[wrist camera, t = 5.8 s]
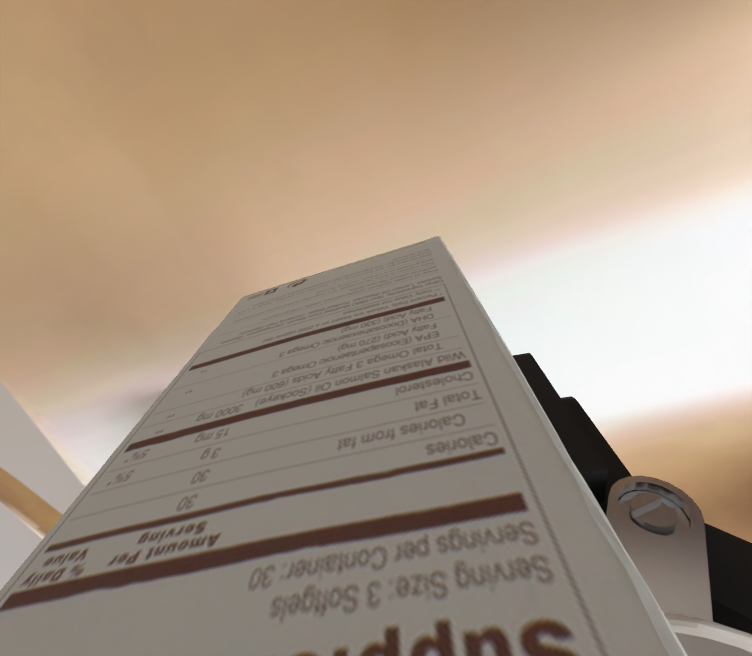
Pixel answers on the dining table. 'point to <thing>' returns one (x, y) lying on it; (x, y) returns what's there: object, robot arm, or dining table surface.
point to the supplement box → (340, 497)
